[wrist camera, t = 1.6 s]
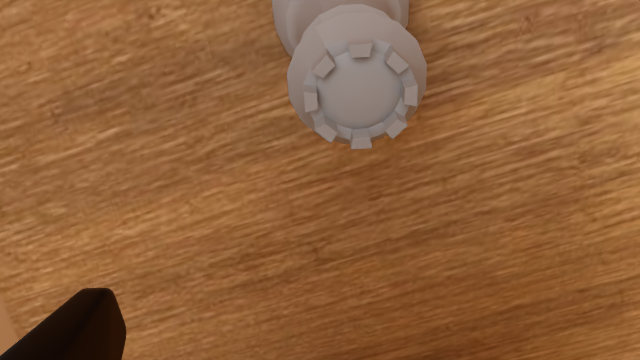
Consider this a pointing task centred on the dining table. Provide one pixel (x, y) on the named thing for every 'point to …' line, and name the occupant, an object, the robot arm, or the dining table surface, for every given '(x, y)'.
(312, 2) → the rook chess piece
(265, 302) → the dining table surface
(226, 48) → the dining table surface
